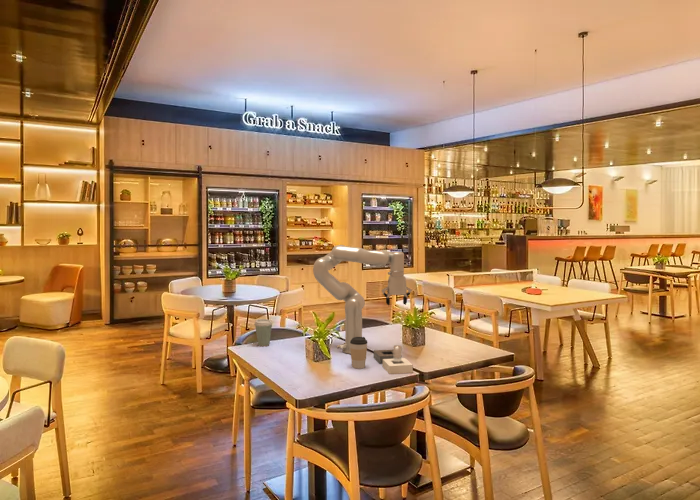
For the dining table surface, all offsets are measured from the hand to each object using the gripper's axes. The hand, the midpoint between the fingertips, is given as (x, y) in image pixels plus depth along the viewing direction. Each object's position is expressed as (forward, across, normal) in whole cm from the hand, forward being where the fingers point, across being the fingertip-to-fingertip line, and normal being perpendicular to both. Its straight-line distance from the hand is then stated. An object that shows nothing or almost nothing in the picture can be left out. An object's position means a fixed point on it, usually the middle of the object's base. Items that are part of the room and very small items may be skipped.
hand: (396, 304), depth 273 cm
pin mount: (+28, -8, -10) cm, 31 cm away
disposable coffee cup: (+28, -72, +33) cm, 84 cm away
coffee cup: (+28, -26, -18) cm, 43 cm away
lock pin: (+28, -8, -27) cm, 40 cm away
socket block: (+28, -8, -27) cm, 40 cm away
